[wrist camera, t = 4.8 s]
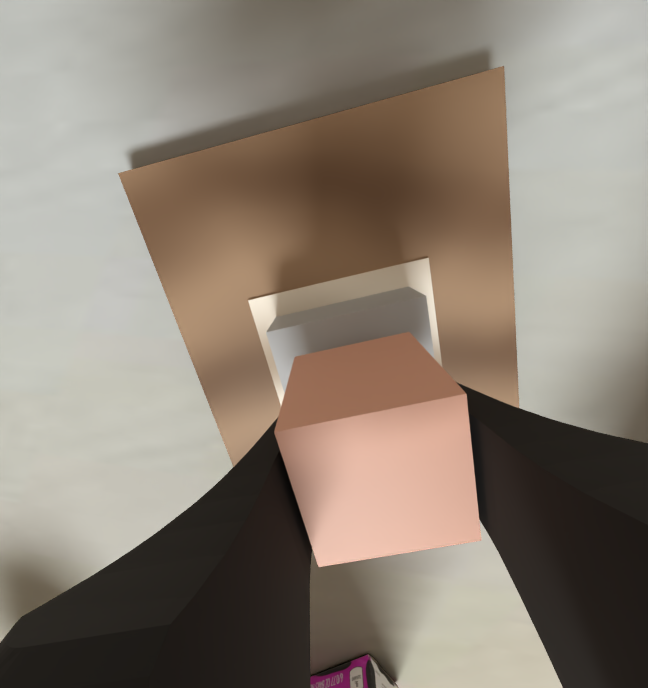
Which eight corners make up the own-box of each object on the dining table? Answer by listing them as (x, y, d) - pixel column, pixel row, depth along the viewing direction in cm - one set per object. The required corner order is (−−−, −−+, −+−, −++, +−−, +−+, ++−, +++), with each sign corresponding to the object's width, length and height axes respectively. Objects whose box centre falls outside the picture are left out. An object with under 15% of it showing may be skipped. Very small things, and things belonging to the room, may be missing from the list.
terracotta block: (424, 431, 12) (481, 540, 7) (321, 451, 12) (318, 567, 8) (409, 331, 11) (466, 393, 6) (294, 356, 11) (273, 432, 7)
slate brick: (426, 405, 15) (444, 435, 13) (308, 429, 16) (305, 462, 13) (408, 286, 14) (426, 295, 11) (275, 316, 14) (265, 332, 12)
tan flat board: (512, 484, 18) (524, 498, 17) (266, 528, 19) (263, 544, 18) (490, 79, 12) (505, 64, 11) (132, 177, 13) (116, 172, 12)
